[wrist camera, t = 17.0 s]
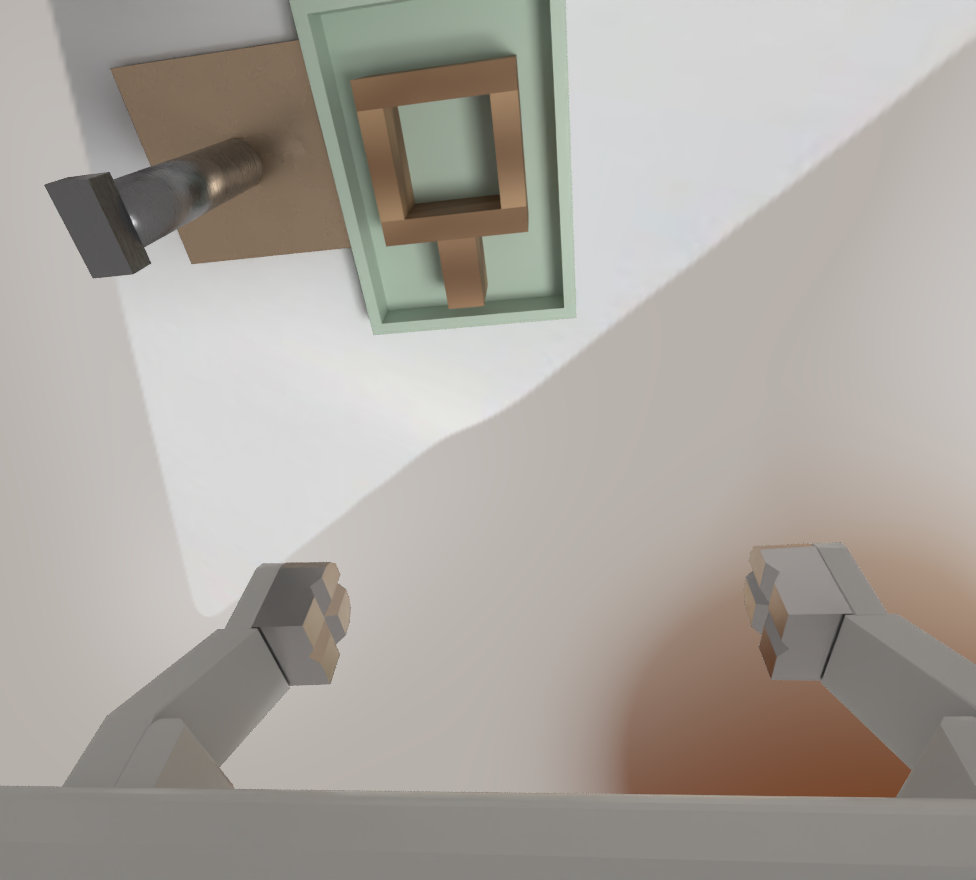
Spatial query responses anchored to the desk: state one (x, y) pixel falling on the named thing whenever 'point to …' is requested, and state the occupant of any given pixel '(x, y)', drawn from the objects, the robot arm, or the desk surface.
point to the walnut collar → (450, 219)
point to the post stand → (212, 165)
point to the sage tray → (449, 150)
